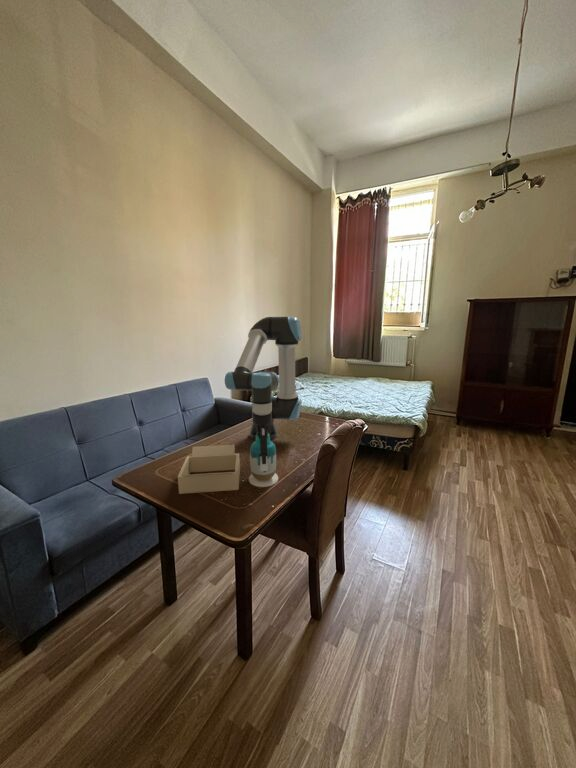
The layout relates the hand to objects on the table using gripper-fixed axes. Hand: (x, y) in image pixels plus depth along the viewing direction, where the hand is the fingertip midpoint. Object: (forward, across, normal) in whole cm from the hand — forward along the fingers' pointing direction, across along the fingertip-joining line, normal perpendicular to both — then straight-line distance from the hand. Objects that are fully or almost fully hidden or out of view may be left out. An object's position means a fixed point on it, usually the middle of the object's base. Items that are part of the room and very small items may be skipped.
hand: (263, 462), depth 126 cm
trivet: (+7, 0, 0) cm, 7 cm away
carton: (+7, -2, -21) cm, 22 cm away
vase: (+7, 0, 0) cm, 7 cm away
